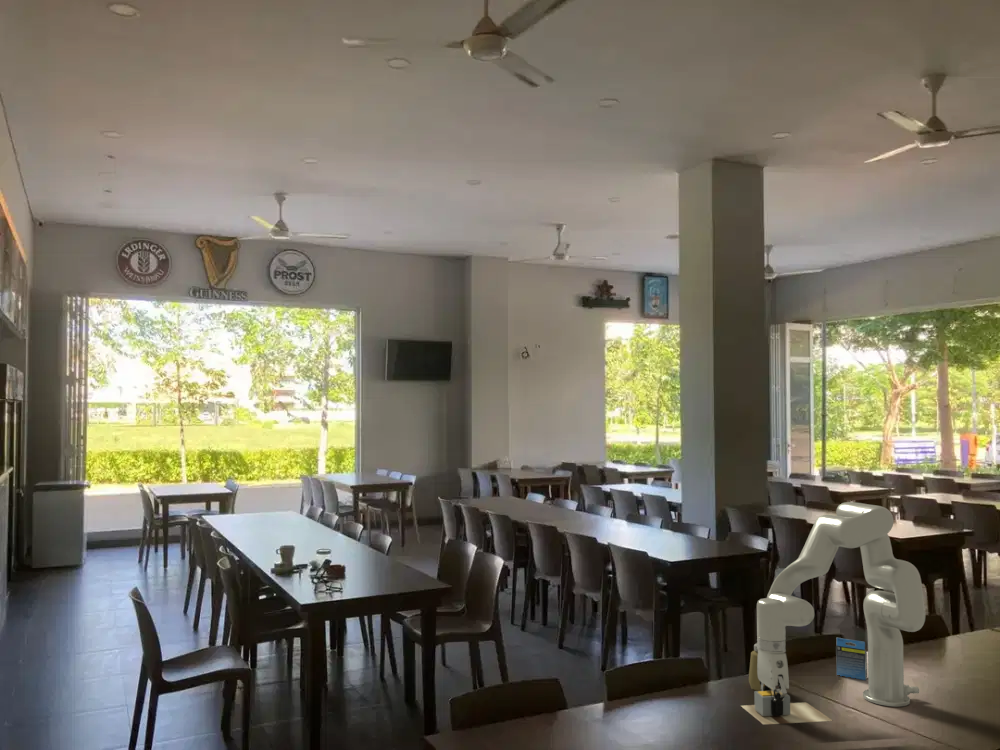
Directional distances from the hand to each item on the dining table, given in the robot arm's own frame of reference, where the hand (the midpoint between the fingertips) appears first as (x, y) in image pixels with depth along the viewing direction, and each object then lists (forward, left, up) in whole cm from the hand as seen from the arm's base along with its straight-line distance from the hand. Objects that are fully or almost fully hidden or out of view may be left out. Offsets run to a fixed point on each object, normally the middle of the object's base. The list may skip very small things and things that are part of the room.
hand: (772, 710), depth 223 cm
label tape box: (-43, -31, -3) cm, 53 cm away
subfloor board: (-4, 0, -2) cm, 5 cm away
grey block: (0, 0, 0) cm, 0 cm away
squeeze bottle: (-7, -20, -3) cm, 21 cm away
